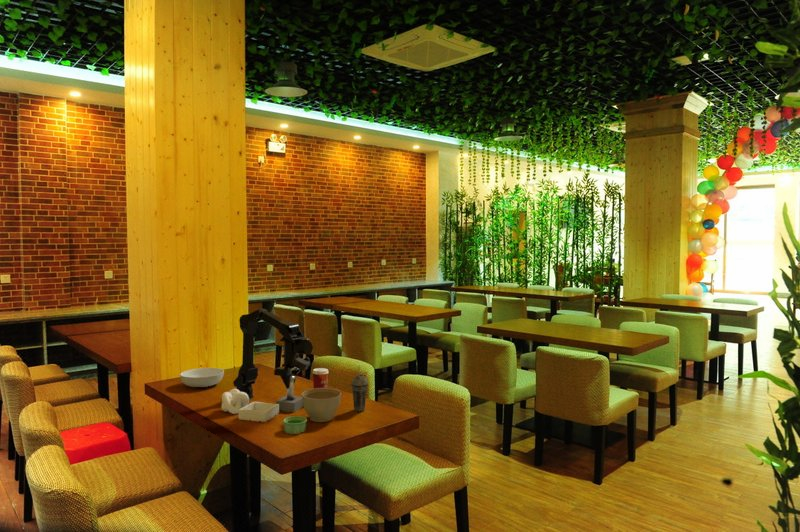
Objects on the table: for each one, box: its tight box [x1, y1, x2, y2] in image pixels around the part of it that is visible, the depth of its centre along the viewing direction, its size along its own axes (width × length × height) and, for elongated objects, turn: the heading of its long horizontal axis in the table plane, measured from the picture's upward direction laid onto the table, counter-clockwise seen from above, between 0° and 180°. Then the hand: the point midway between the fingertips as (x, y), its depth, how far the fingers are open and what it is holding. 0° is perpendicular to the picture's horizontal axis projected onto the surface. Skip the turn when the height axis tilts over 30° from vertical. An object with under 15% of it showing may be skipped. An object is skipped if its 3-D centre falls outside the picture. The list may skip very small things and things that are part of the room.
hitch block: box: [275, 395, 304, 413], centre depth 238 cm, size 9×9×4 cm
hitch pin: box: [286, 375, 297, 401], centre depth 238 cm, size 5×5×10 cm
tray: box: [238, 401, 280, 423], centre depth 226 cm, size 12×12×4 cm
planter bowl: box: [301, 387, 342, 423], centre depth 224 cm, size 16×16×11 cm
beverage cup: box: [351, 365, 369, 413], centre depth 236 cm, size 7×7×20 cm
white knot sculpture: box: [221, 388, 250, 415], centre depth 233 cm, size 11×12×9 cm
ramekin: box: [283, 415, 308, 435], centre depth 210 cm, size 9×9×4 cm
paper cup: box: [311, 367, 329, 389], centre depth 252 cm, size 8×8×14 cm
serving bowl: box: [179, 367, 225, 388], centre depth 273 cm, size 21×21×7 cm
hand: (290, 387), depth 238 cm, fingers closed on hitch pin, 4 cm apart
